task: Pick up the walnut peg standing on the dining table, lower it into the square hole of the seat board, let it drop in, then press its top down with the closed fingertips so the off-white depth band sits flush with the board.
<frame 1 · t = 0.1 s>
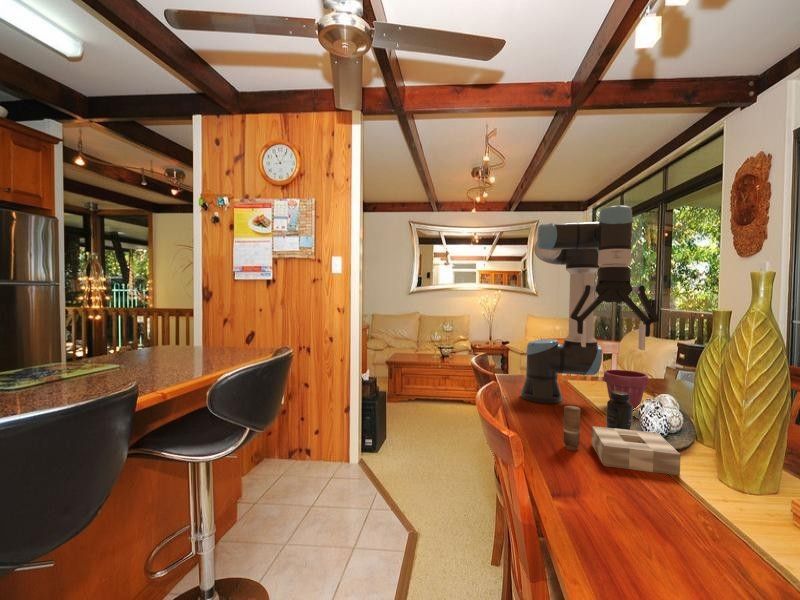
hand: (611, 348, 100), 28 cm above the table, fingers open, 13 cm apart
seat board: (631, 458, 97), on the table
supplement bottle: (618, 432, 116), on the table
plant pot: (624, 407, 141), on the table
peg: (571, 448, 103), on the table
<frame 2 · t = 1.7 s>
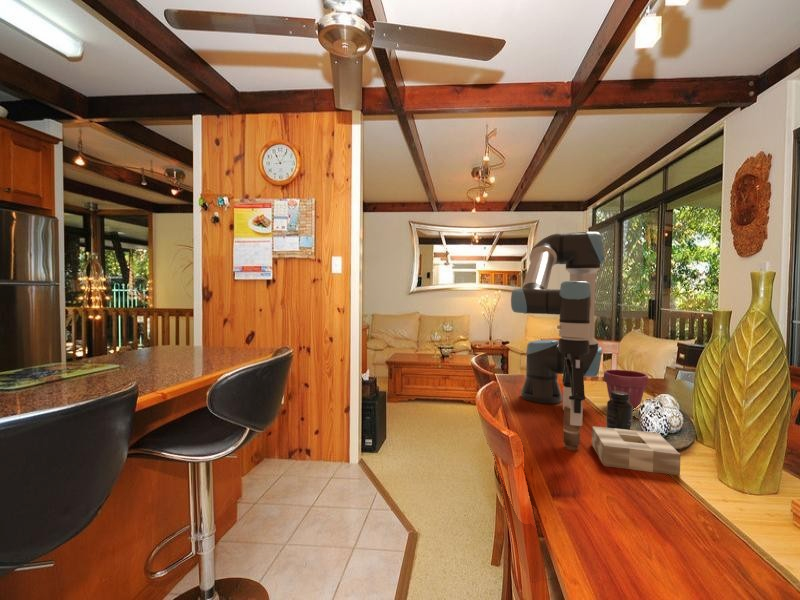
hand: (571, 417, 103), 9 cm above the table, fingers open, 13 cm apart
nothing on the table moved.
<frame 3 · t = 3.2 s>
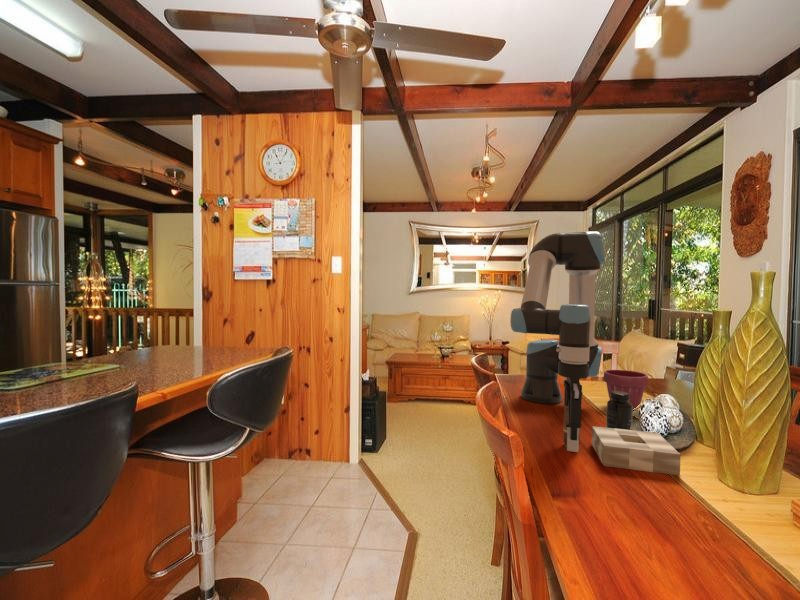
hand: (571, 447, 103), 0 cm above the table, fingers closed on peg, 4 cm apart
peg: (571, 448, 103), on the table, touching gripper
everything else where it was.
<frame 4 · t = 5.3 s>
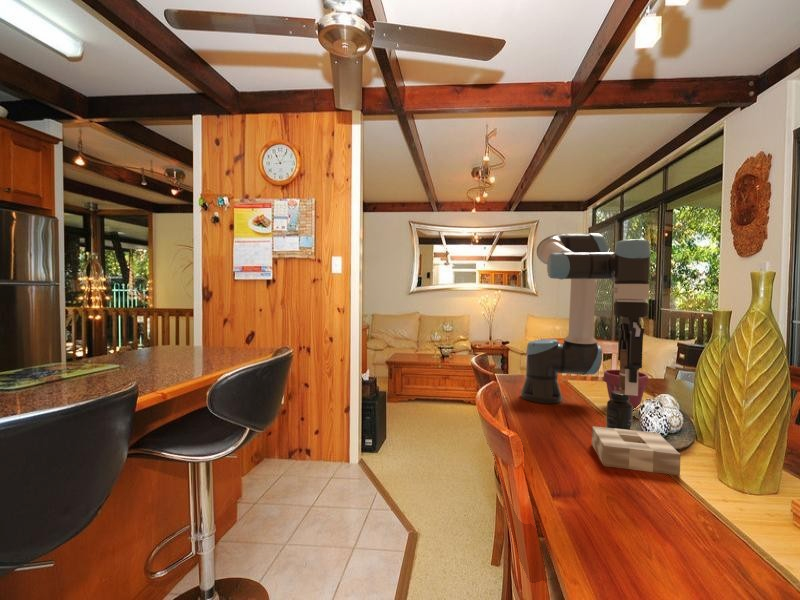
hand: (628, 392, 97), 17 cm above the table, fingers closed on peg, 4 cm apart
peg: (628, 393, 97), point 17 cm above the table, touching gripper
everything else where it was.
when the fingers open (6 cm above the table, at t = 7.6 s): peg drops 6 cm, resting in seat board.
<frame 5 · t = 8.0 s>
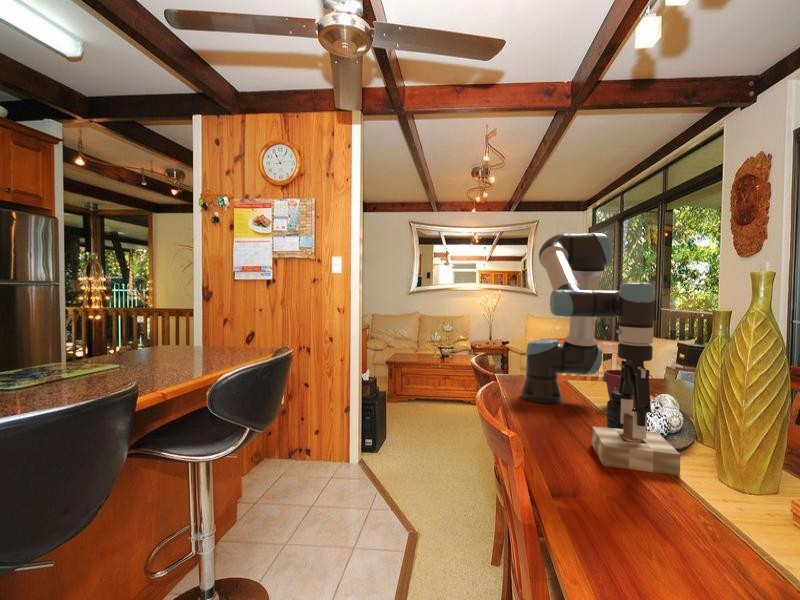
hand: (632, 430, 97), 7 cm above the table, fingers open, 10 cm apart
peg: (631, 458, 97), resting in seat board
everything else where it was.
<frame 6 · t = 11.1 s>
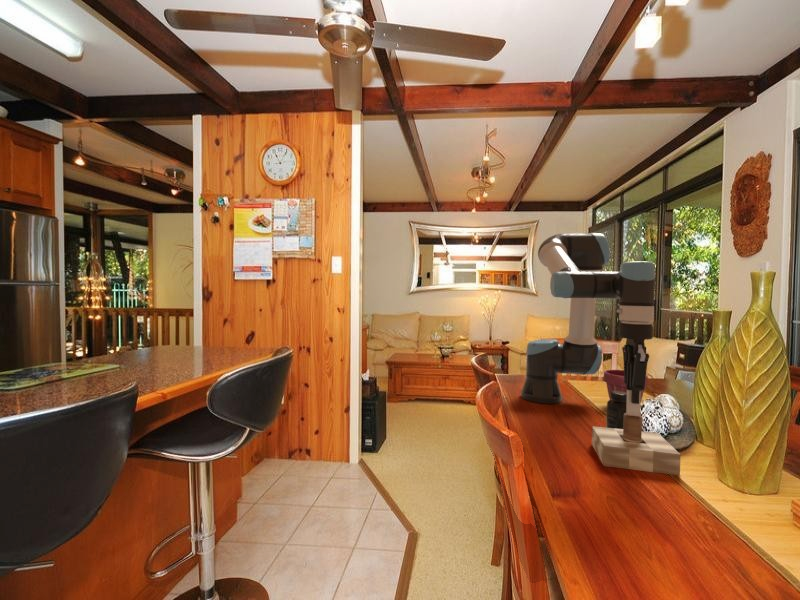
hand: (633, 414, 97), 11 cm above the table, fingers closed
peg: (631, 458, 97), resting in seat board, touching gripper
everything else where it was.
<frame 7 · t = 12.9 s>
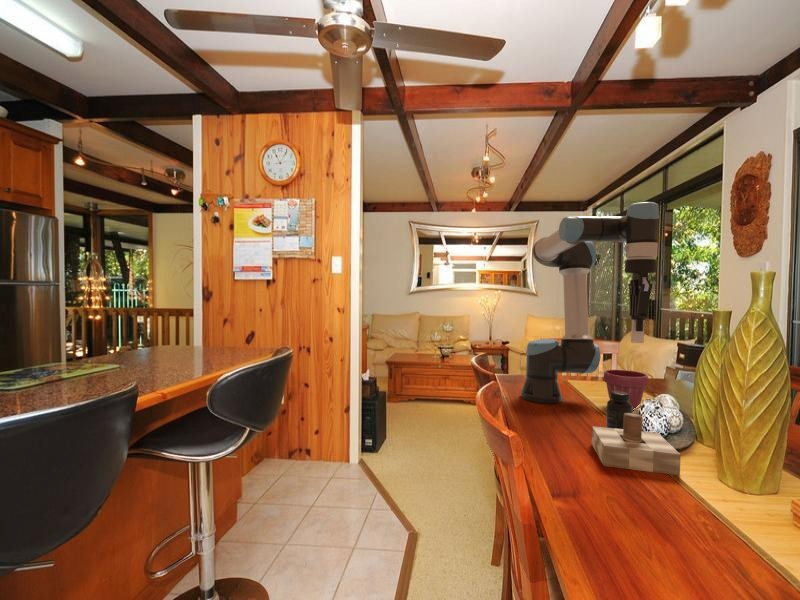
hand: (637, 342, 108), 28 cm above the table, fingers closed
peg: (631, 458, 97), resting in seat board
everything else where it was.
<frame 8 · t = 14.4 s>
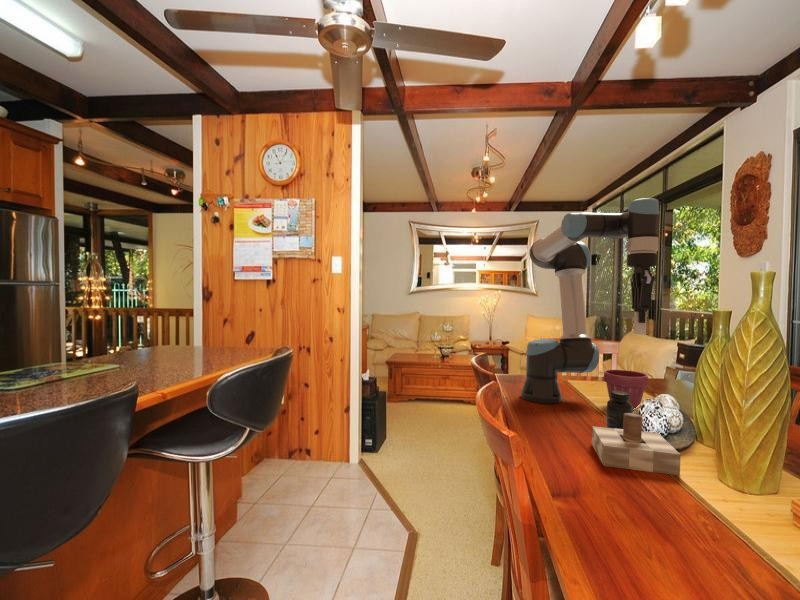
hand: (639, 333, 111), 30 cm above the table, fingers closed
nothing on the table moved.
at the end: peg 0.1 cm off-centre in the seat board, point 0.0 cm above the seat board's base; peg tilted 0°; the gripper is holding nothing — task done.
